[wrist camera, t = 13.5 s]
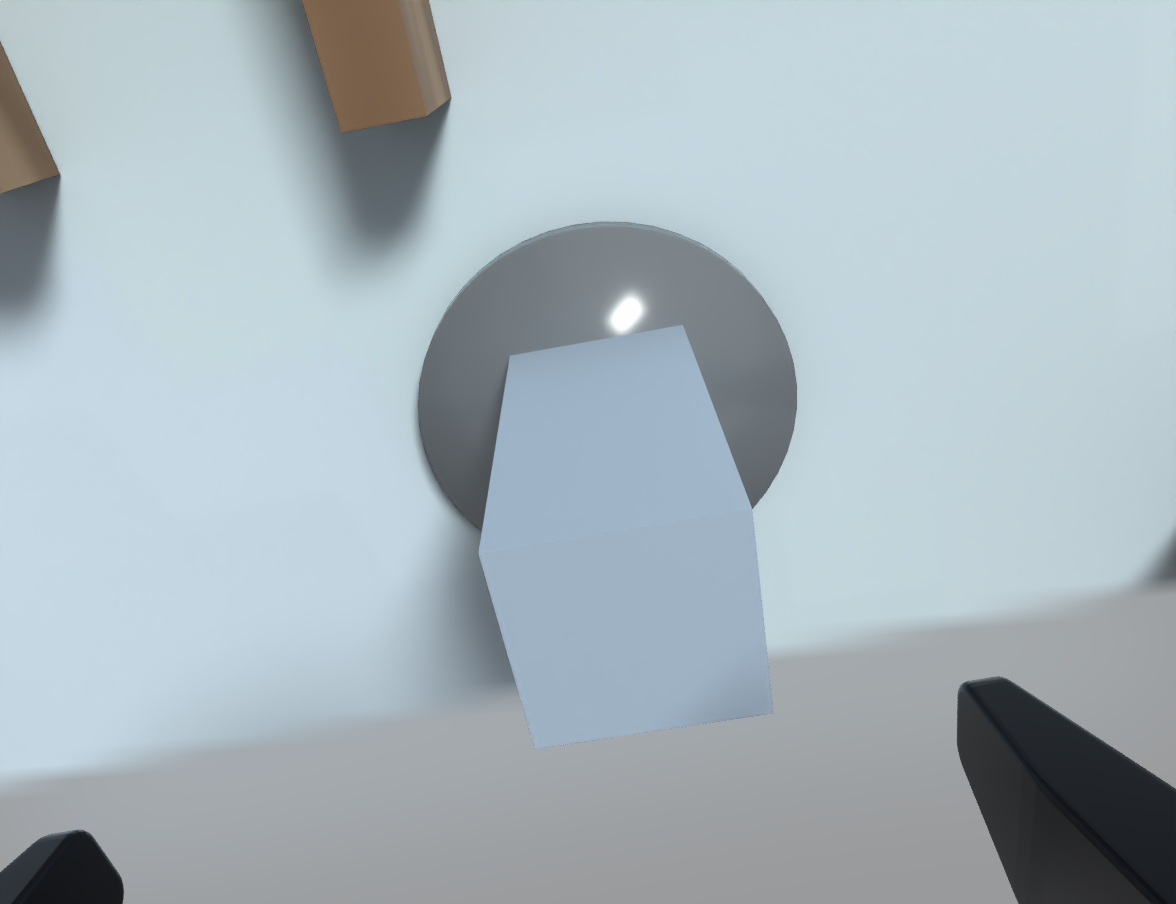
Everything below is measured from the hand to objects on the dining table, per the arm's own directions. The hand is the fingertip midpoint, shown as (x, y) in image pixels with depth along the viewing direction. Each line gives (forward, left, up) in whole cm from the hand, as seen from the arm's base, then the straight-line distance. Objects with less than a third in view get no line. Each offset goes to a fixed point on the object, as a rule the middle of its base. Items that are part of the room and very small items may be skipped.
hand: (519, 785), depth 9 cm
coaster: (-1, +2, -13) cm, 13 cm away
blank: (-1, +2, -12) cm, 12 cm away
